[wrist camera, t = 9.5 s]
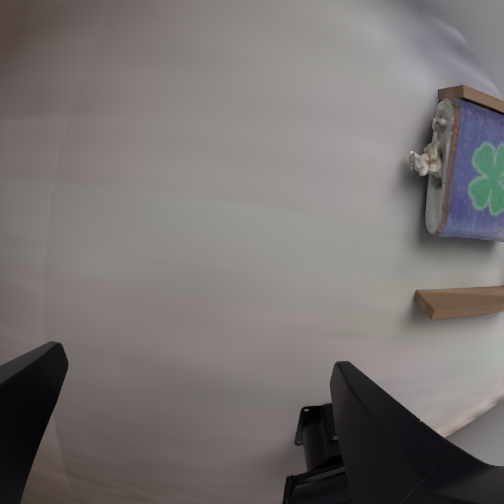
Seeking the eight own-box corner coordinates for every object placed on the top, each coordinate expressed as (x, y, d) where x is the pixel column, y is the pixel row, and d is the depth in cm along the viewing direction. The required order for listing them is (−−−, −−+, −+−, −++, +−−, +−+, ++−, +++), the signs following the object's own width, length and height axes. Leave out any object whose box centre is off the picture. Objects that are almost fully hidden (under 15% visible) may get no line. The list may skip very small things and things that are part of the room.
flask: (521, 248, 16) (412, 239, 17) (500, 234, 19) (395, 223, 19) (541, 128, 13) (429, 85, 13) (517, 124, 15) (408, 88, 16)
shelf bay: (508, 292, 21) (526, 307, 18) (413, 299, 21) (431, 319, 18) (534, 126, 16) (558, 129, 13) (438, 89, 16) (463, 85, 13)
